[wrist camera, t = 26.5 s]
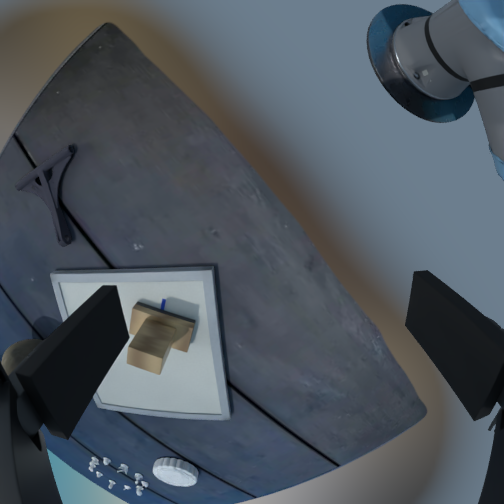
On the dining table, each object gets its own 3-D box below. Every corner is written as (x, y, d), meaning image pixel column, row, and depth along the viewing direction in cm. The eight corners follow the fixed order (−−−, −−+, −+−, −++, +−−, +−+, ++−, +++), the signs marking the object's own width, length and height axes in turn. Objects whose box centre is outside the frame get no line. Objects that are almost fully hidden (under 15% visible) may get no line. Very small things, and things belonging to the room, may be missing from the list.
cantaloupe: (53, 319, 49) (11, 359, 34) (88, 375, 53) (57, 421, 38) (18, 330, 50) (-19, 364, 36) (50, 379, 54) (20, 419, 40)
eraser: (196, 320, 46) (182, 359, 36) (189, 344, 47) (176, 385, 37) (137, 300, 45) (111, 334, 35) (133, 325, 47) (109, 362, 37)
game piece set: (160, 489, 67) (157, 498, 63) (114, 487, 69) (112, 495, 66) (122, 457, 62) (118, 467, 58) (78, 455, 64) (73, 464, 60)
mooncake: (207, 474, 62) (206, 485, 59) (175, 480, 64) (173, 490, 61) (178, 453, 59) (175, 464, 56) (145, 460, 61) (142, 470, 58)
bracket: (45, 255, 45) (37, 260, 42) (19, 182, 41) (10, 183, 38) (102, 228, 44) (93, 232, 41) (73, 144, 40) (63, 144, 37)
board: (213, 265, 45) (212, 270, 43) (231, 413, 54) (230, 420, 52) (55, 270, 46) (49, 274, 44) (100, 402, 55) (97, 407, 53)
